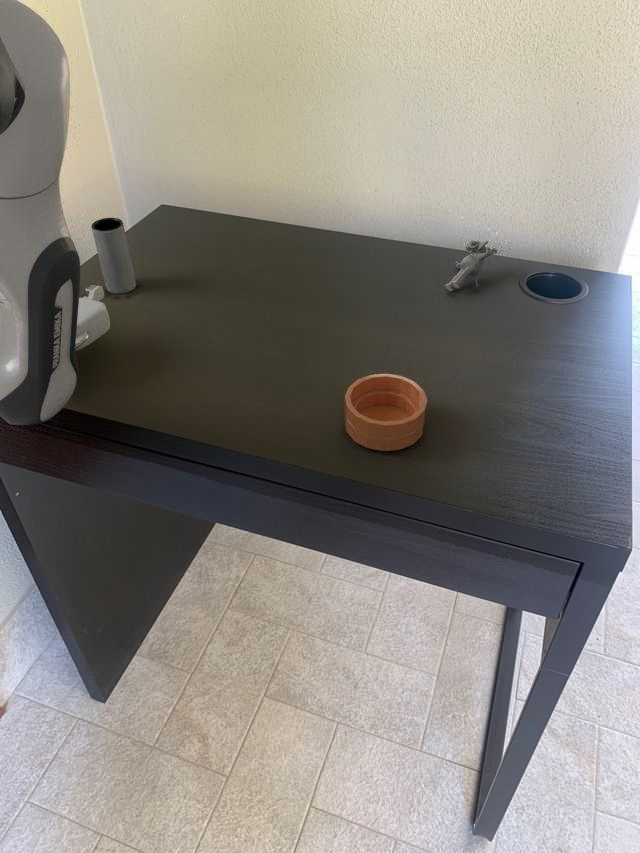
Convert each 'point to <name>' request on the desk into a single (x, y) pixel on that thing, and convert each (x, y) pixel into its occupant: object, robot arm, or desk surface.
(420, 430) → the bowl
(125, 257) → the tall grey cup
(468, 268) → the grey figurine
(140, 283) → the desk surface
